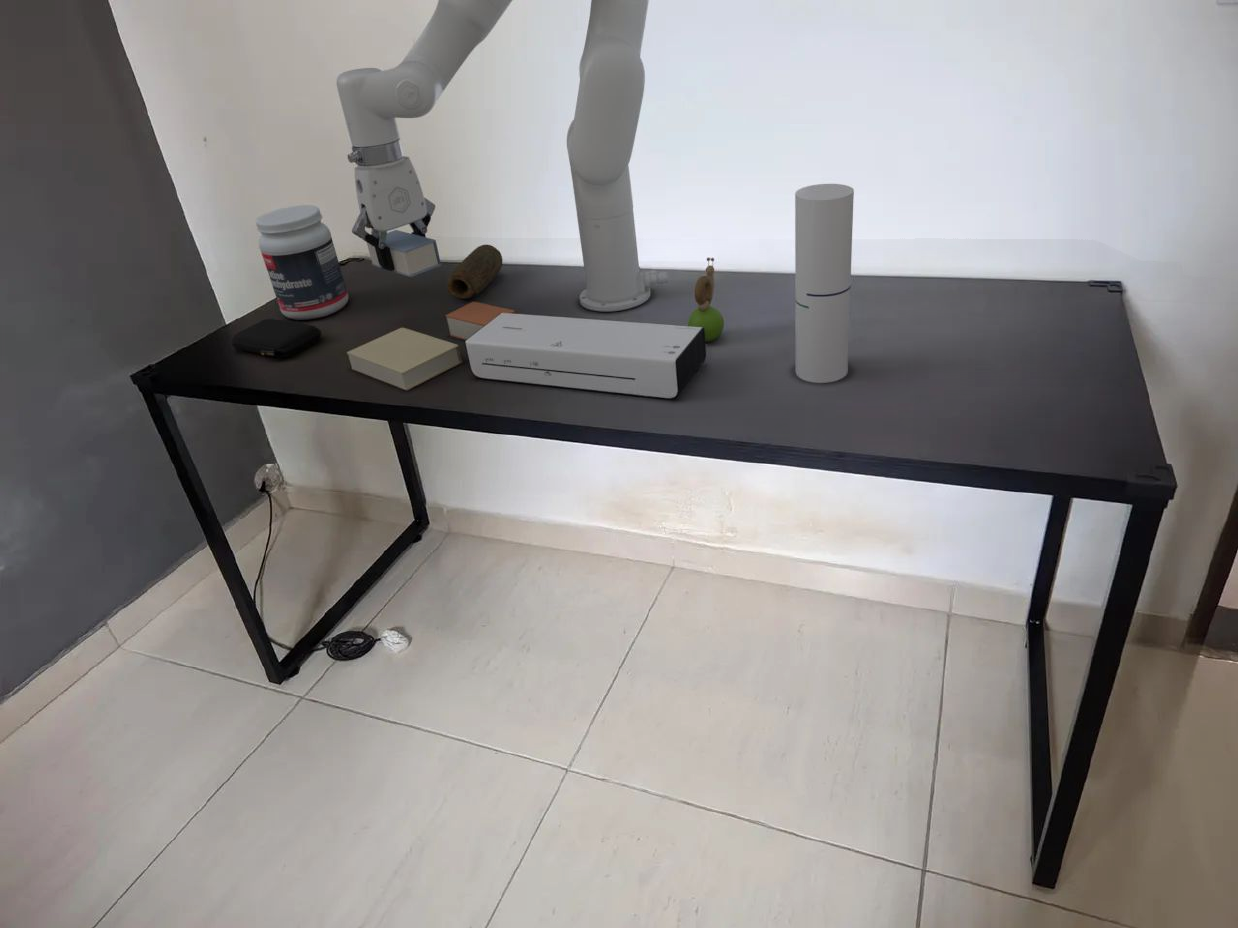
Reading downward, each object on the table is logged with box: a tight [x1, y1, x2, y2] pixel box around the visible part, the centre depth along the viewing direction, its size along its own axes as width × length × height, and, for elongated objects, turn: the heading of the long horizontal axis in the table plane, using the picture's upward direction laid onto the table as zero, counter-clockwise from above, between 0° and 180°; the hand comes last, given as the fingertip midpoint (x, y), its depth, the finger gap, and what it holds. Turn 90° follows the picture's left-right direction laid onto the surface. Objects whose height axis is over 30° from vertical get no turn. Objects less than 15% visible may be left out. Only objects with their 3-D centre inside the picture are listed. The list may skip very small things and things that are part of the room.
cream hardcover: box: [346, 327, 463, 391], centre depth 138 cm, size 15×11×3 cm
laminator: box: [464, 313, 707, 401], centre depth 129 cm, size 34×12×6 cm, turn 66°
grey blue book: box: [366, 229, 442, 278], centre depth 147 cm, size 12×6×4 cm, turn 45°
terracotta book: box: [445, 301, 516, 341], centre depth 146 cm, size 10×7×4 cm, turn 51°
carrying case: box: [231, 318, 322, 358], centre depth 151 cm, size 11×3×15 cm
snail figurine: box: [687, 257, 725, 343], centre depth 132 cm, size 5×6×12 cm
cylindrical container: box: [794, 183, 855, 384], centre depth 115 cm, size 7×7×25 cm
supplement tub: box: [255, 204, 349, 321], centre depth 161 cm, size 13×13×18 cm
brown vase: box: [446, 244, 503, 300], centre depth 164 cm, size 15×7×7 cm, turn 168°
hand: (405, 261), depth 147 cm, fingers closed on grey blue book, 6 cm apart
